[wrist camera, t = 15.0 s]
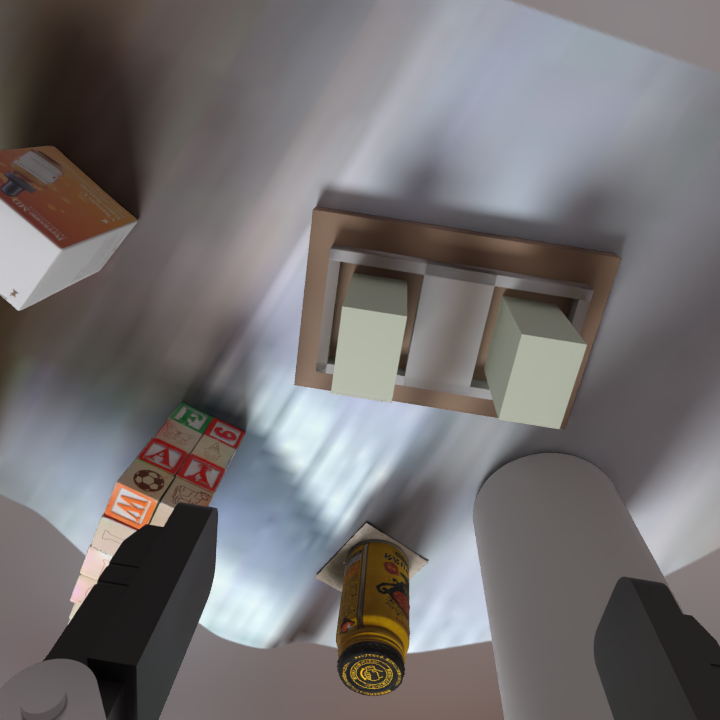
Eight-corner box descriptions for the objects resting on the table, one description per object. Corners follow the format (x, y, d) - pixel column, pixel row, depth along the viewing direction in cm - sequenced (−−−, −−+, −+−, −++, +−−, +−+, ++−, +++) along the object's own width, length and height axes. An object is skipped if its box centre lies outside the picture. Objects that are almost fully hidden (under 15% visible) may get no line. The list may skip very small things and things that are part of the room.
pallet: (297, 377, 48) (290, 393, 45) (316, 206, 42) (309, 213, 40) (560, 419, 48) (569, 438, 45) (614, 253, 42) (628, 263, 39)
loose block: (343, 347, 45) (330, 393, 38) (353, 272, 43) (342, 306, 35) (394, 355, 45) (391, 402, 38) (407, 280, 43) (407, 316, 35)
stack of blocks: (166, 588, 59) (109, 702, 48) (108, 563, 58) (36, 673, 47) (247, 430, 51) (201, 521, 39) (181, 398, 50) (114, 482, 39)
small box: (141, 220, 44) (66, 251, 34) (101, 271, 46) (19, 314, 36) (52, 141, 42) (-54, 151, 32) (14, 198, 44) (-96, 223, 34)
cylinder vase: (647, 491, 50) (850, 814, 27) (556, 583, 55) (664, 925, 32) (527, 423, 48) (635, 707, 25) (445, 525, 53) (473, 841, 30)
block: (483, 369, 45) (498, 419, 38) (502, 295, 42) (521, 334, 35) (534, 377, 45) (559, 429, 38) (556, 304, 42) (587, 344, 35)
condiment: (428, 560, 55) (433, 673, 44) (375, 611, 58) (367, 729, 47) (366, 520, 54) (355, 627, 43) (315, 574, 57) (292, 687, 46)
